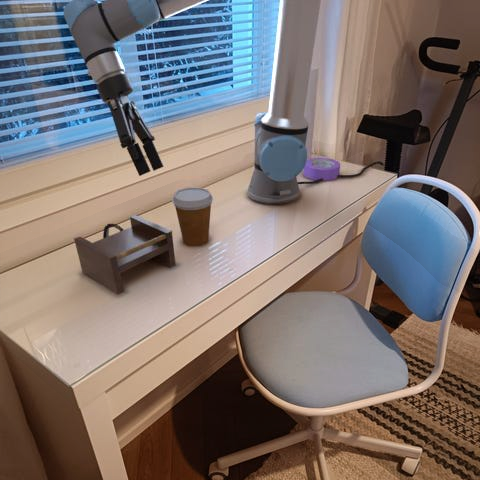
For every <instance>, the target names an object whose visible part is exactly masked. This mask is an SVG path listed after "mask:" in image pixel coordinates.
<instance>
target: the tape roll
mask: <svg viewBox="0 0 480 480" xmlns="http://www.w3.org/2000/svg"><path fill="white" fill-rule="evenodd" d="M340 171H341V163H340V162H339V161H338V160H336V159H333V158H329V157H313V158H312V157H311V159H308V160H307V161H306V165H305V167H304V169H303V176H304V177H305V178H307V179H310V180H312V181H316V180H319V179H321V178H322V179H323V181H322V182H328V181H329V182H330V181H334V180H336V179H338V178H339V177H337V175H340Z"/></svg>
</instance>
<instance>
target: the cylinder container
mask: <svg viewBox="0 0 480 480" xmlns="http://www.w3.org/2000/svg"><path fill="white" fill-rule="evenodd" d="M319 68H320V67H319V66H316V65H311V69H310V76H309V83H308V90H307V96H306V103H305V110H304V118H305V119H306V121H307V122H308V124H309V125H308V132H307V138H306V145H305V147H306V150H307V160H308V159H312V153H313V142H314V141H313V140H314V128H315V117H316V105H317V93H318V83H319V81H318V80H319Z"/></svg>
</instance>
